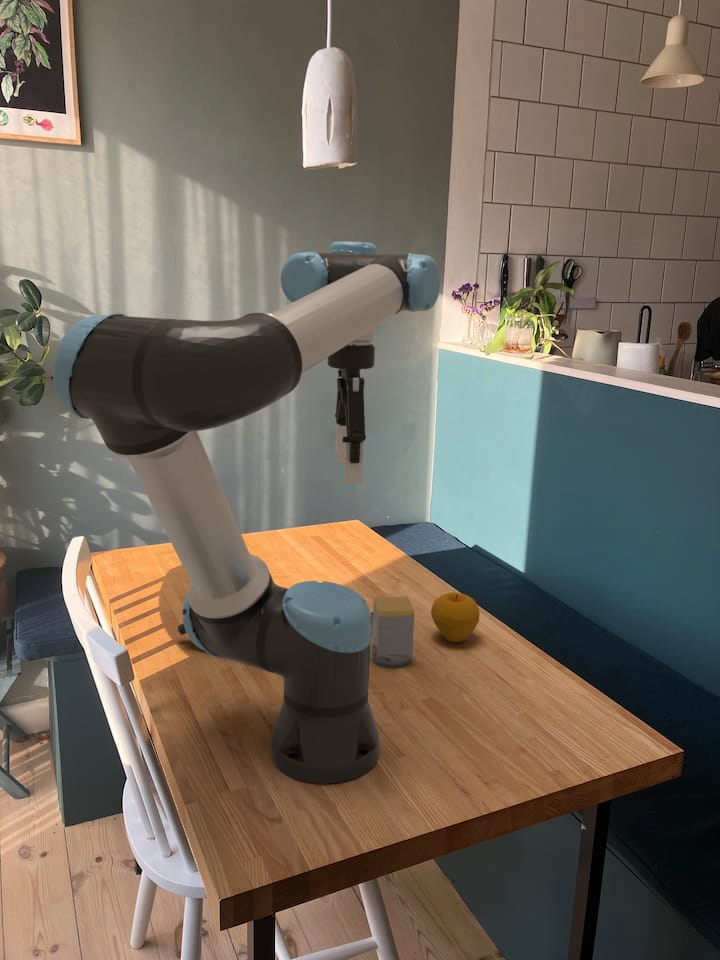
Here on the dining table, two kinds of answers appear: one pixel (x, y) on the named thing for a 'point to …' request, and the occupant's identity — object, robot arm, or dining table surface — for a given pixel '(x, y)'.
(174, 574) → the dining table surface
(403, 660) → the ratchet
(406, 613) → the lidded square canister
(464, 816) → the dining table surface
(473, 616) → the apple
